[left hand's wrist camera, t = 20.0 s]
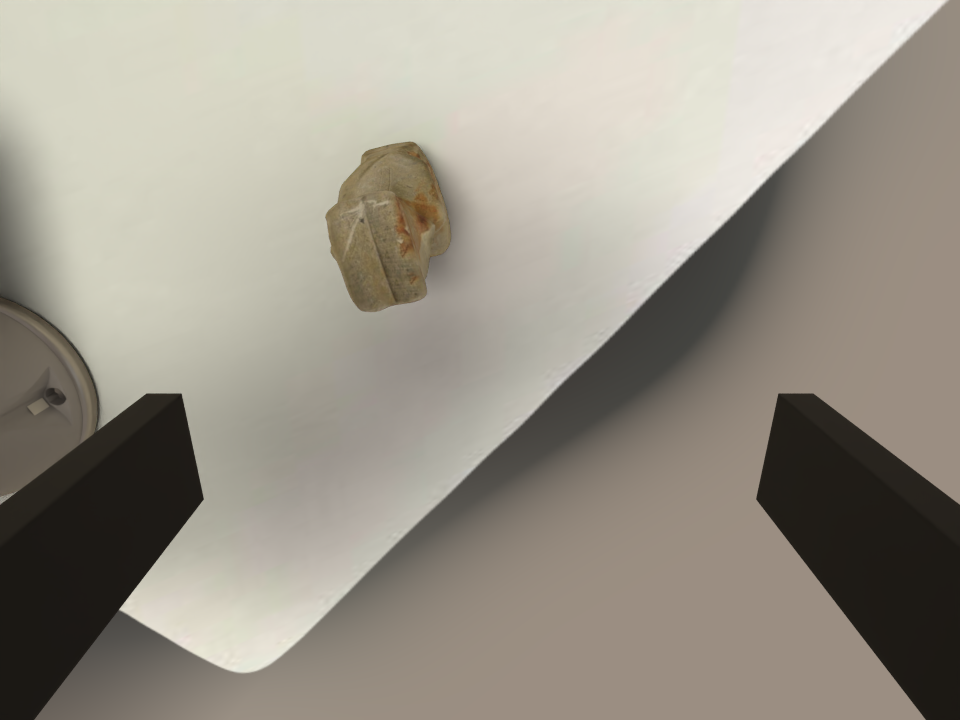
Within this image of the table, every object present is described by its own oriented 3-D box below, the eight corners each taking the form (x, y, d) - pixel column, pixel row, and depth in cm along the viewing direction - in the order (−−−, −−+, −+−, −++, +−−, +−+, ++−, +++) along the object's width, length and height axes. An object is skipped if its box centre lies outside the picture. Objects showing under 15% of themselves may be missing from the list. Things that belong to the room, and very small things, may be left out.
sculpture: (379, 262, 39) (323, 330, 25) (353, 151, 36) (274, 159, 22) (463, 248, 38) (453, 309, 24) (443, 135, 36) (419, 133, 22)
